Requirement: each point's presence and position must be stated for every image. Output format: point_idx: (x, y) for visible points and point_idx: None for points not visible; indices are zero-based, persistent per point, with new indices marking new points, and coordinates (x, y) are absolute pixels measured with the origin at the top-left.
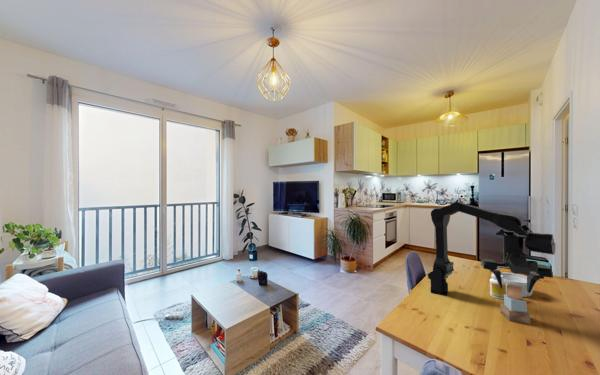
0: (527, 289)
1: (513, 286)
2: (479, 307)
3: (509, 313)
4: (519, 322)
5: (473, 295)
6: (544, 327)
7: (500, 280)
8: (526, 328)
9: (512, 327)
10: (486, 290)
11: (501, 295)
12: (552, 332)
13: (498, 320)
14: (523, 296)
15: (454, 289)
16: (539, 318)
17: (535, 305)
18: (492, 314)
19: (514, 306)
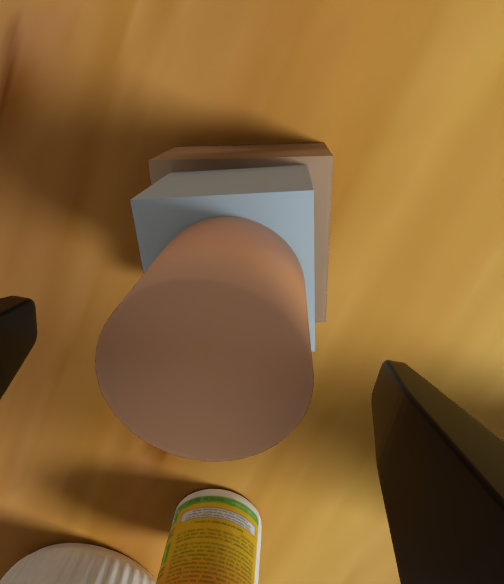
0: (14, 354)
1: (207, 389)
2: (451, 324)
3: (326, 153)
4: (249, 145)
5: (383, 500)
6: (90, 127)
7: (483, 460)
8: (240, 44)
9: (358, 13)
10: None
11: (206, 511)
12: (62, 52)
13: (417, 121)
14: (63, 545)
15: None
16: (73, 275)
17: (34, 455)
18: (407, 227)
19: (277, 173)
